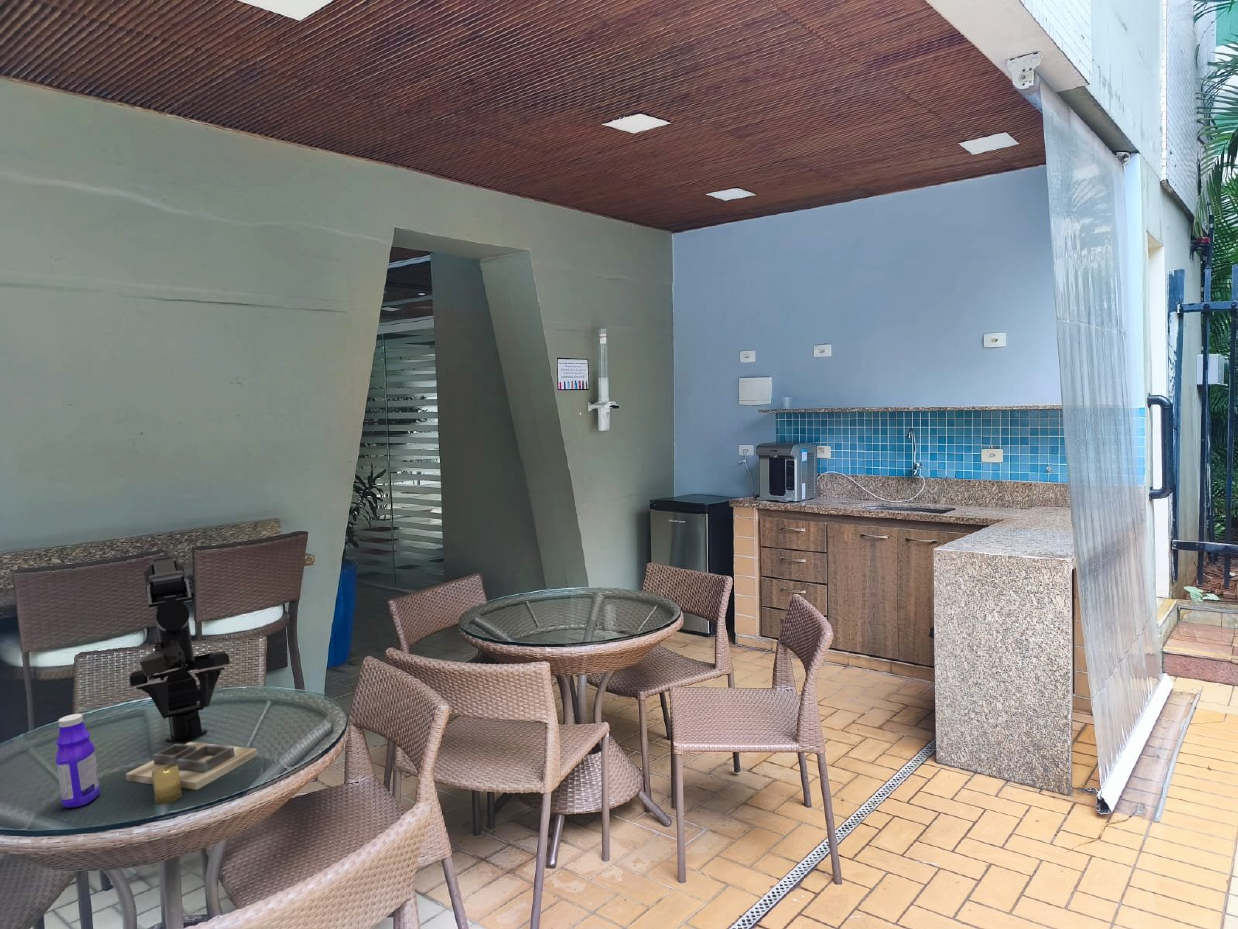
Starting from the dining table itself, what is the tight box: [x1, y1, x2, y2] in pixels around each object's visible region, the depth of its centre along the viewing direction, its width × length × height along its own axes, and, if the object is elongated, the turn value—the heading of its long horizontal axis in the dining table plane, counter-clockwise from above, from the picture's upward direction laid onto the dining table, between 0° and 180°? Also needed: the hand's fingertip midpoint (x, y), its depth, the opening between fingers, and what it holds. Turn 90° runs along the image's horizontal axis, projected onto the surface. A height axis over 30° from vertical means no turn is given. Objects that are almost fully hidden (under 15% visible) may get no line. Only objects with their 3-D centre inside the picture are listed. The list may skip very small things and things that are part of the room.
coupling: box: [152, 764, 183, 805], centre depth 165 cm, size 5×5×6 cm
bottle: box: [55, 713, 101, 809], centre depth 167 cm, size 7×6×17 cm
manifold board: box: [125, 741, 258, 791], centre depth 179 cm, size 20×16×4 cm
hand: (185, 712), depth 167 cm, fingers open, 9 cm apart
